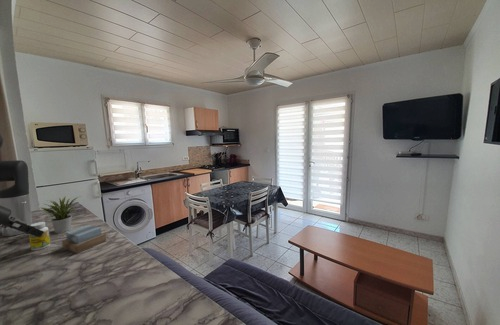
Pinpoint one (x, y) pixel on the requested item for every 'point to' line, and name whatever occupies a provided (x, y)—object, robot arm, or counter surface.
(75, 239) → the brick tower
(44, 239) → the supplement bottle
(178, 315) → the counter surface
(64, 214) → the house plant
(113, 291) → the counter surface
